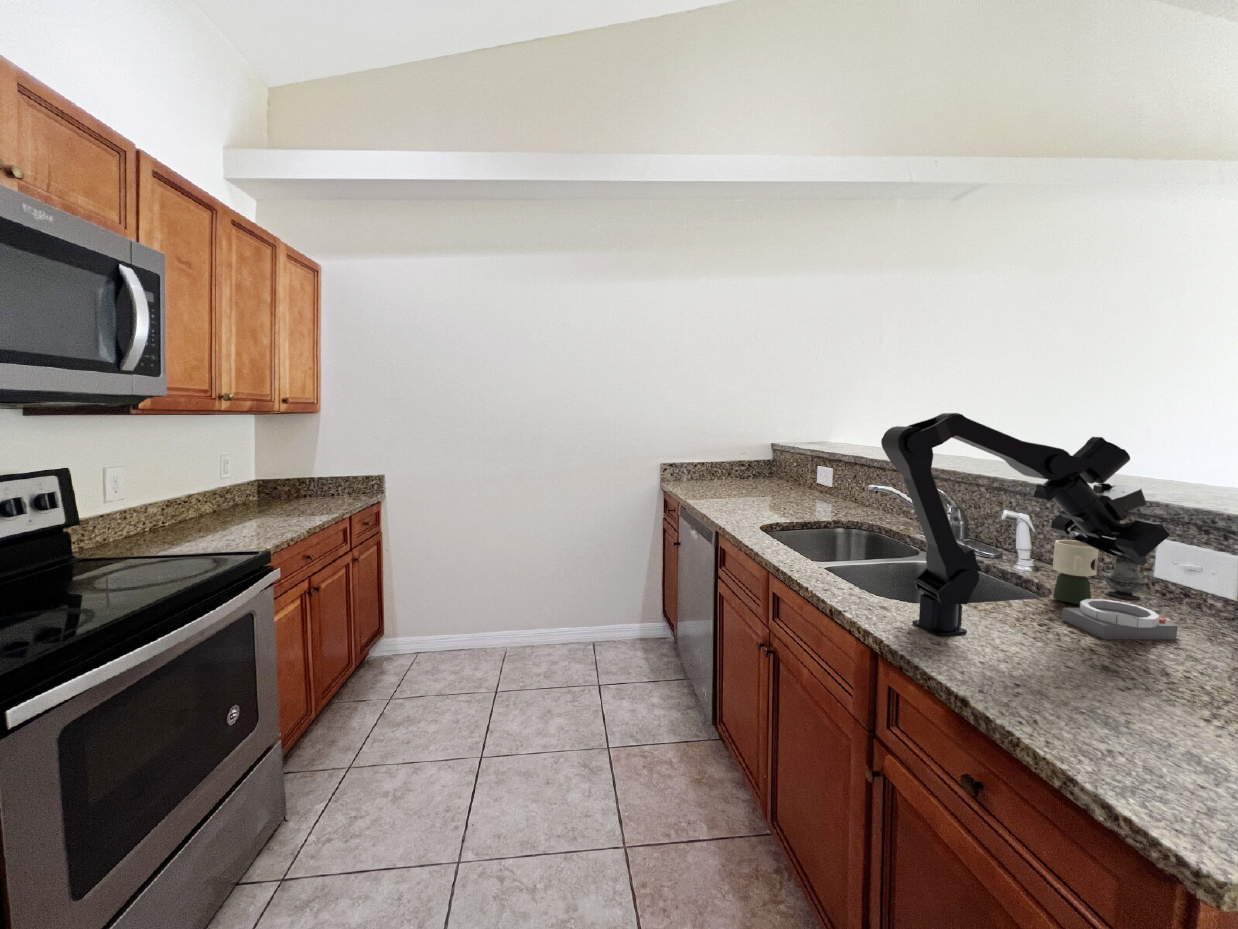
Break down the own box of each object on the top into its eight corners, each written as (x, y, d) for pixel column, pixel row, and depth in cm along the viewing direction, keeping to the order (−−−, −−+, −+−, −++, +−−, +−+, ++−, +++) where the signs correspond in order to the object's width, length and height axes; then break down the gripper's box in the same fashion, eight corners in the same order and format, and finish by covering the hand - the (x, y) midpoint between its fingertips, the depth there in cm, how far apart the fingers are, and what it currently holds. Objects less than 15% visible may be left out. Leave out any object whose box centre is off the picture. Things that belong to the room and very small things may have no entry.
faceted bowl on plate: (1107, 641, 95) (1109, 619, 95) (1059, 618, 105) (1060, 598, 105) (1180, 641, 95) (1182, 619, 95) (1124, 618, 105) (1126, 599, 105)
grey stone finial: (1094, 593, 101) (1100, 530, 99) (1113, 590, 103) (1120, 528, 101) (1133, 603, 95) (1140, 537, 94) (1153, 600, 97) (1160, 535, 96)
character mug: (1097, 614, 108) (1103, 551, 107) (1052, 606, 112) (1057, 546, 111) (1090, 599, 117) (1095, 540, 116) (1048, 592, 121) (1052, 536, 120)
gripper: (1164, 476, 88) (1225, 543, 88) (1071, 465, 106) (1122, 521, 107) (1110, 522, 88) (1171, 589, 89) (1027, 504, 107) (1078, 559, 108)
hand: (1134, 561), depth 98 cm, fingers closed on grey stone finial, 3 cm apart
